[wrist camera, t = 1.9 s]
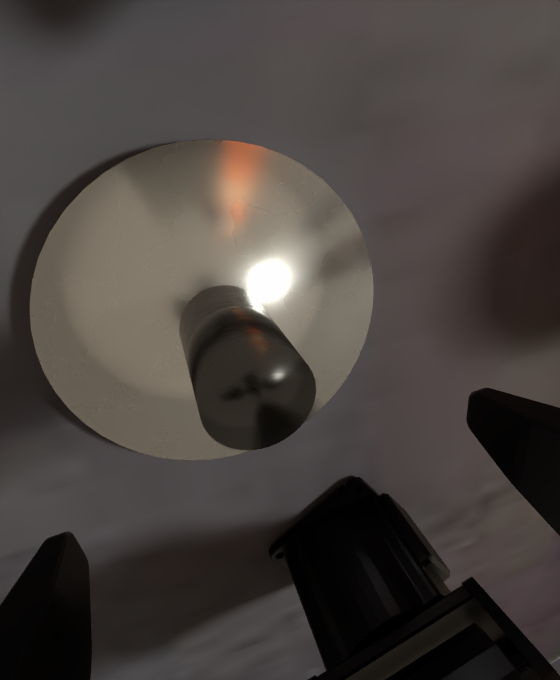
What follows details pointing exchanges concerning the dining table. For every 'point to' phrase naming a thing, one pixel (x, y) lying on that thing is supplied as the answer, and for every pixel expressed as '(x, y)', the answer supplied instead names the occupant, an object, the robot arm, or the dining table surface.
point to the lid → (201, 299)
